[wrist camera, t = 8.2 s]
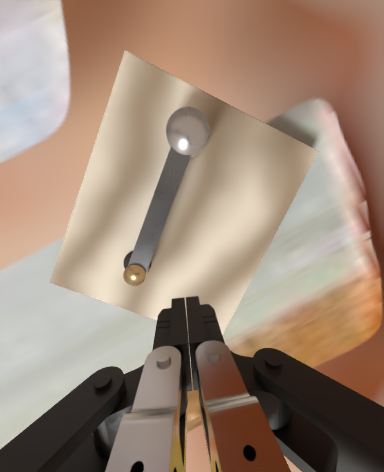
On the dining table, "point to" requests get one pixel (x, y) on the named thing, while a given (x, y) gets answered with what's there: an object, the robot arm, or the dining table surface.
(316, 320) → the dining table surface
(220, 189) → the hole board
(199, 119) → the leg
